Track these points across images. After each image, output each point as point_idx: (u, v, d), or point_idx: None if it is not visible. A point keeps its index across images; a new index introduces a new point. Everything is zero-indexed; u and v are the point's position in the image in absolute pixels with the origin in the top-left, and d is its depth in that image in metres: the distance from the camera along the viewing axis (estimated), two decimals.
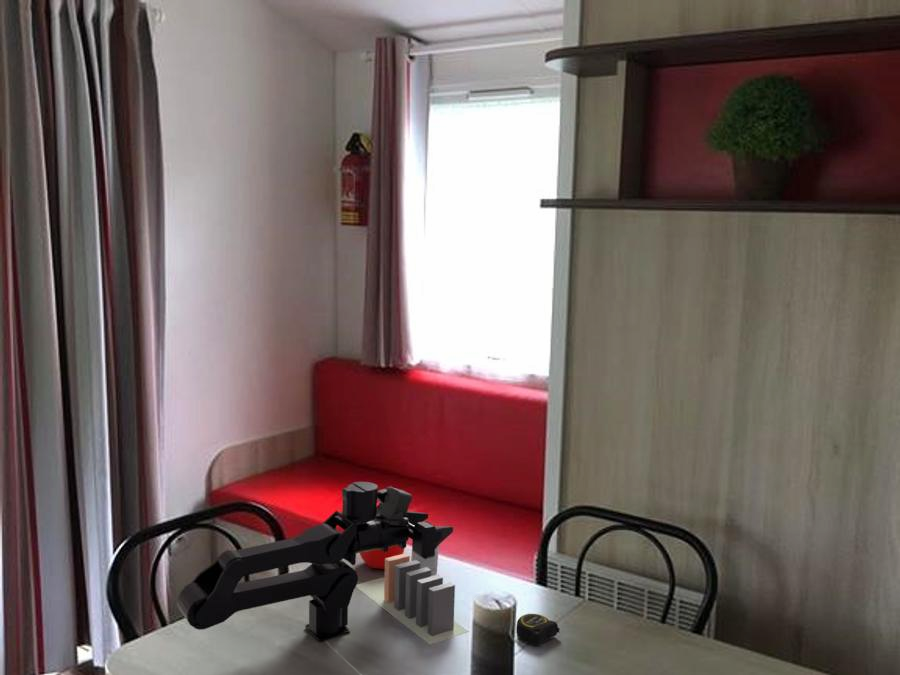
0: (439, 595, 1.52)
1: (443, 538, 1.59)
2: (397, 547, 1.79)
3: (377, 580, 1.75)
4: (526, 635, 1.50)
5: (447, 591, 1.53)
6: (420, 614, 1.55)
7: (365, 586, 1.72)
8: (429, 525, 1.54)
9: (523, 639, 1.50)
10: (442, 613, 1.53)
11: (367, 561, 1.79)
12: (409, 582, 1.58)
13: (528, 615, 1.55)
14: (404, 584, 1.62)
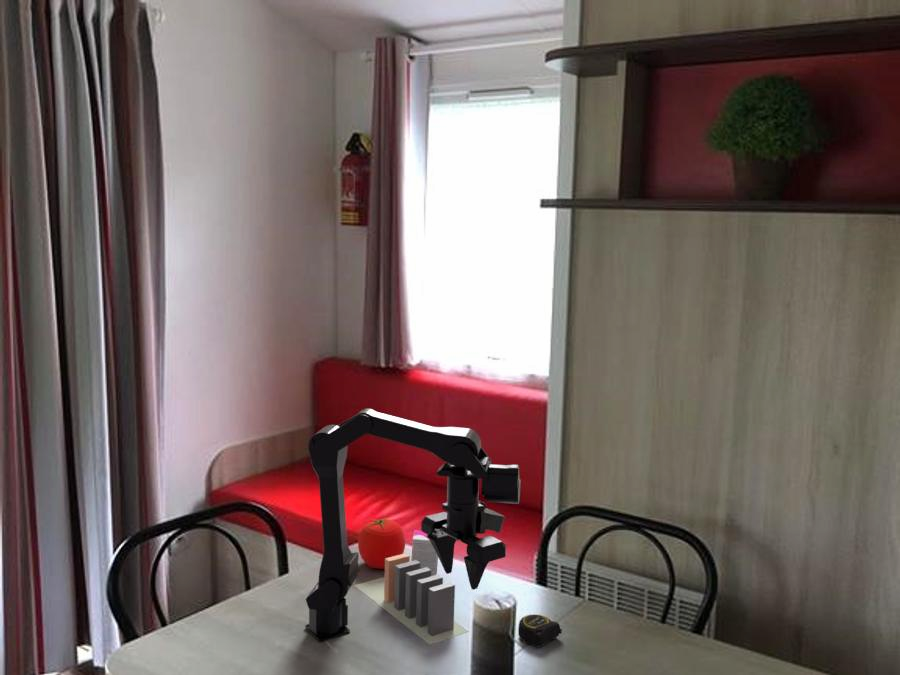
0: (439, 595, 1.52)
1: (473, 577, 1.43)
2: (397, 547, 1.79)
3: (377, 580, 1.75)
4: (528, 636, 1.49)
5: (447, 591, 1.53)
6: (420, 614, 1.55)
7: (365, 586, 1.72)
8: None
9: (525, 640, 1.50)
10: (442, 613, 1.53)
11: (367, 561, 1.79)
12: (409, 582, 1.58)
13: (530, 616, 1.54)
14: (404, 584, 1.62)
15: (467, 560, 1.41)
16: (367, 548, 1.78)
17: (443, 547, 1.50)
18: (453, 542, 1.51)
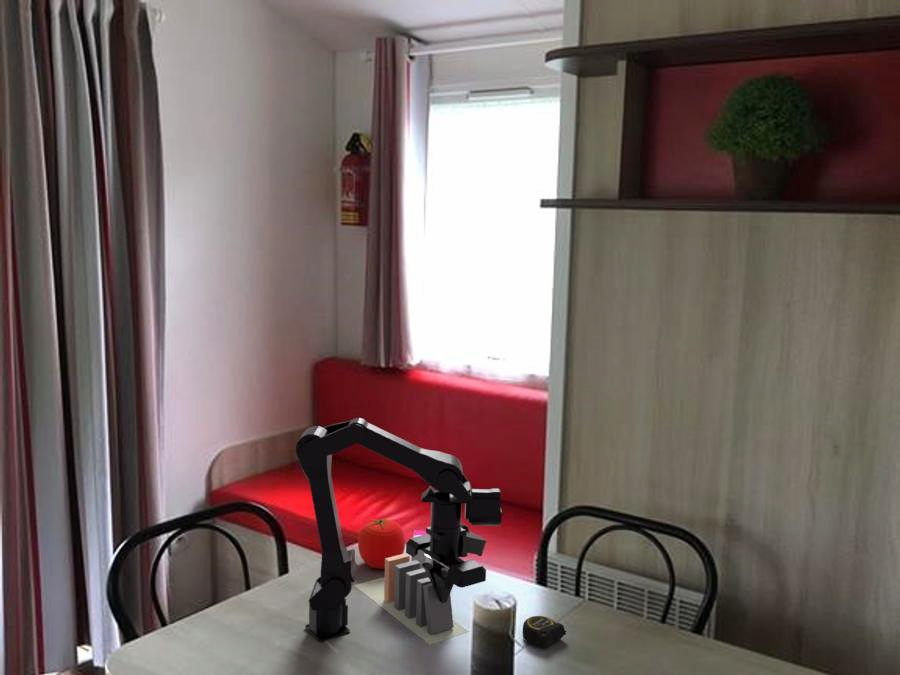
0: (434, 591, 1.53)
1: (442, 591, 1.51)
2: (397, 547, 1.79)
3: (377, 580, 1.75)
4: (532, 637, 1.49)
5: None
6: (420, 614, 1.55)
7: (365, 586, 1.72)
8: None
9: (529, 641, 1.50)
10: (439, 610, 1.54)
11: (367, 561, 1.79)
12: (409, 582, 1.58)
13: (534, 617, 1.54)
14: (404, 584, 1.62)
15: (436, 575, 1.49)
16: (367, 548, 1.78)
17: None
18: None
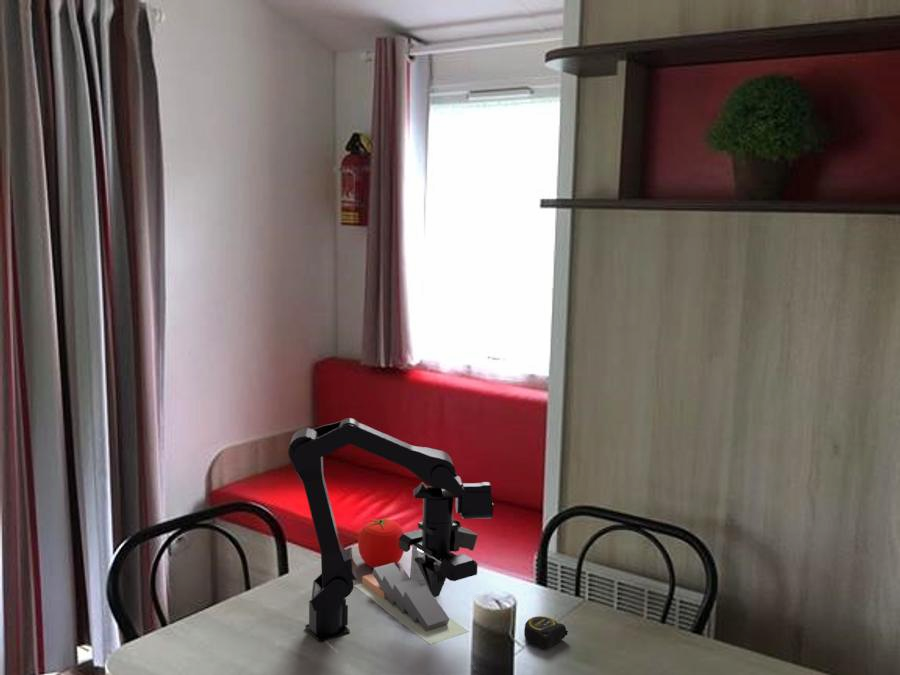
0: (414, 593, 1.59)
1: (435, 585, 1.53)
2: (397, 547, 1.79)
3: None
4: (534, 637, 1.49)
5: (421, 590, 1.61)
6: (410, 608, 1.58)
7: (365, 586, 1.72)
8: None
9: (531, 642, 1.49)
10: (427, 607, 1.57)
11: (367, 561, 1.79)
12: (387, 581, 1.65)
13: (536, 618, 1.54)
14: None
15: (429, 570, 1.51)
16: (367, 548, 1.78)
17: None
18: None
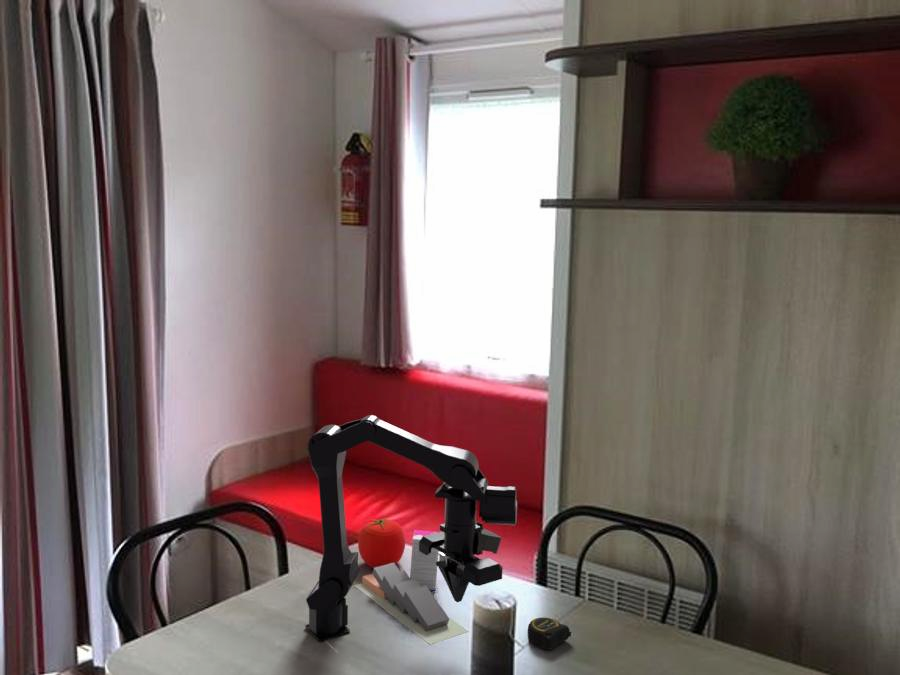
0: (414, 593, 1.59)
1: (457, 590, 1.47)
2: (397, 547, 1.79)
3: None
4: (538, 639, 1.48)
5: (421, 590, 1.61)
6: (410, 608, 1.58)
7: (365, 586, 1.72)
8: None
9: (534, 643, 1.49)
10: (427, 607, 1.57)
11: (367, 561, 1.79)
12: (387, 581, 1.65)
13: (539, 619, 1.53)
14: None
15: (451, 574, 1.45)
16: (367, 548, 1.78)
17: None
18: None
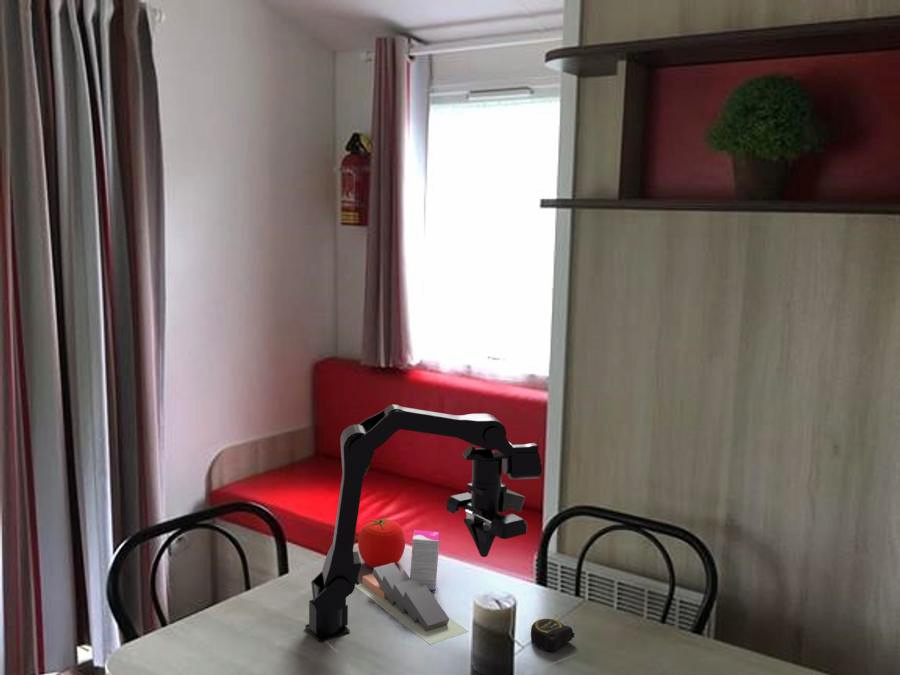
0: (414, 593, 1.59)
1: (484, 545, 1.56)
2: (397, 547, 1.79)
3: None
4: (541, 640, 1.48)
5: (421, 590, 1.61)
6: (410, 608, 1.58)
7: (365, 586, 1.72)
8: None
9: (538, 645, 1.49)
10: (427, 607, 1.57)
11: (367, 561, 1.79)
12: (387, 581, 1.65)
13: (542, 620, 1.53)
14: None
15: (478, 529, 1.54)
16: (367, 548, 1.78)
17: None
18: None
